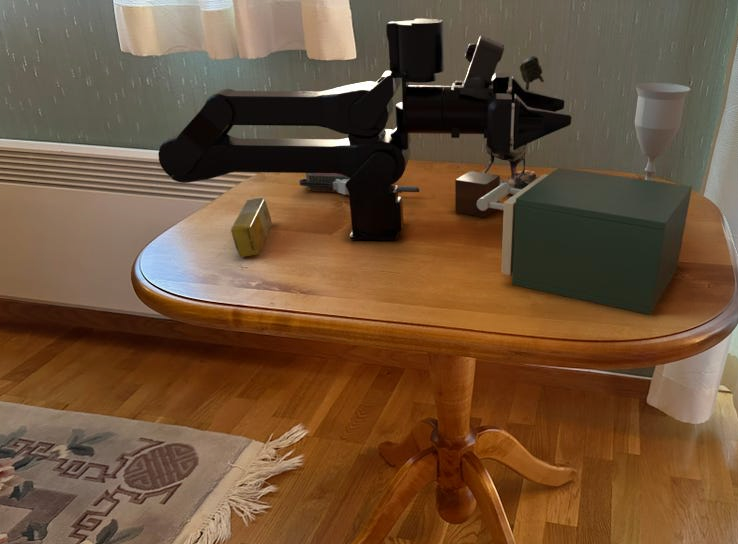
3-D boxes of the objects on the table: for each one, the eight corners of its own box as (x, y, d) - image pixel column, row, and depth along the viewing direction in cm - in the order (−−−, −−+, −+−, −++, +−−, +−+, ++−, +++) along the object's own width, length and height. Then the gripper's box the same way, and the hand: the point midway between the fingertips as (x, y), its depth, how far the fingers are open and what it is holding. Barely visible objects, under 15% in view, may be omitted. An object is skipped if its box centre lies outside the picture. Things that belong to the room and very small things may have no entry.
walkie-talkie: (295, 195, 108) (418, 200, 106) (291, 168, 106) (417, 172, 104) (312, 179, 116) (427, 183, 114) (309, 153, 113) (426, 157, 112)
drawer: (466, 265, 83) (466, 196, 78) (506, 232, 92) (509, 168, 88) (627, 300, 75) (638, 224, 71) (654, 260, 85) (665, 191, 80)
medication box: (254, 226, 97) (246, 199, 95) (272, 224, 97) (265, 196, 95) (238, 258, 87) (229, 228, 85) (259, 255, 87) (251, 225, 85)
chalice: (614, 218, 100) (631, 89, 90) (623, 204, 105) (639, 81, 96) (665, 225, 98) (687, 93, 88) (671, 210, 103) (693, 85, 93)
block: (485, 217, 100) (485, 184, 97) (455, 212, 102) (455, 179, 99) (499, 207, 104) (500, 175, 101) (470, 202, 106) (470, 170, 103)
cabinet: (511, 284, 81) (515, 198, 75) (552, 245, 91) (558, 167, 85) (650, 315, 74) (665, 222, 69) (676, 269, 85) (692, 186, 79)
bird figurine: (481, 180, 116) (483, 53, 105) (547, 181, 115) (556, 53, 105) (479, 195, 109) (481, 60, 98) (550, 196, 108) (559, 61, 98)
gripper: (438, 51, 74) (582, 52, 73) (448, 31, 89) (566, 32, 89) (439, 154, 80) (572, 156, 79) (448, 118, 95) (559, 120, 95)
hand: (567, 111), depth 85 cm, fingers open, 9 cm apart
